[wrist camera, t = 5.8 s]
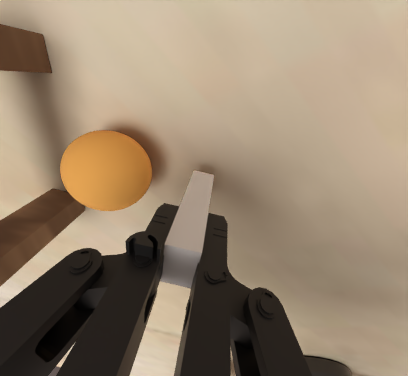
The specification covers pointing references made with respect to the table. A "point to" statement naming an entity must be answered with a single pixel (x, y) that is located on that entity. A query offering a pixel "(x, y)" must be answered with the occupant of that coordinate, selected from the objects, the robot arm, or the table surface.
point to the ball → (105, 170)
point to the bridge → (50, 201)
